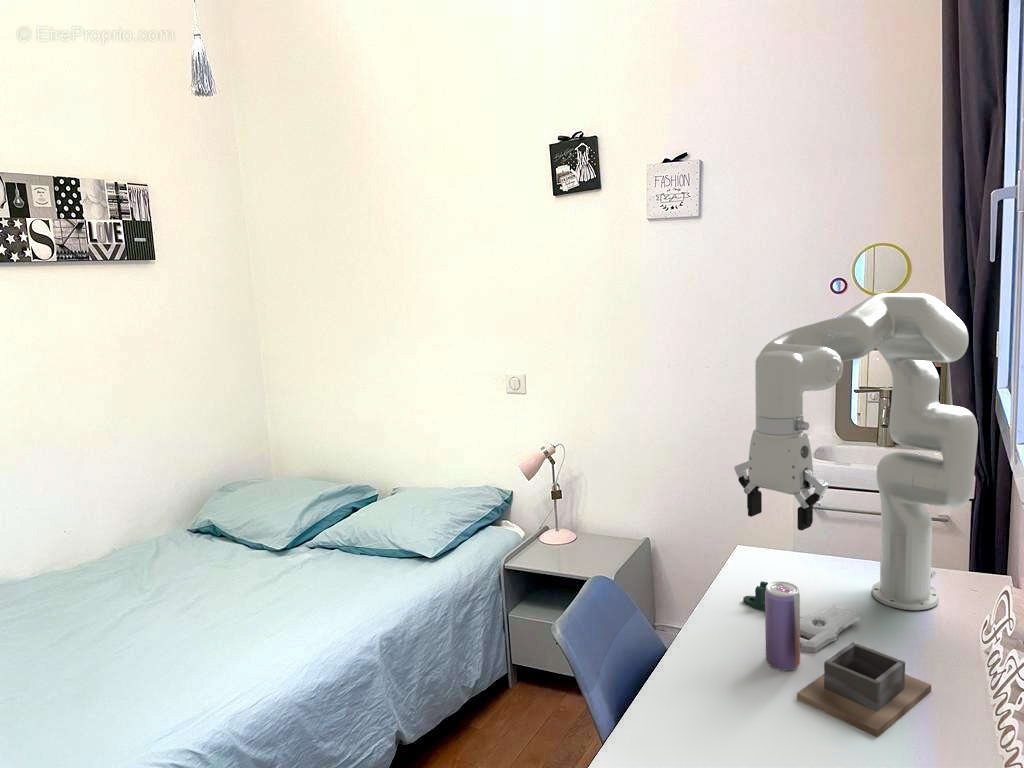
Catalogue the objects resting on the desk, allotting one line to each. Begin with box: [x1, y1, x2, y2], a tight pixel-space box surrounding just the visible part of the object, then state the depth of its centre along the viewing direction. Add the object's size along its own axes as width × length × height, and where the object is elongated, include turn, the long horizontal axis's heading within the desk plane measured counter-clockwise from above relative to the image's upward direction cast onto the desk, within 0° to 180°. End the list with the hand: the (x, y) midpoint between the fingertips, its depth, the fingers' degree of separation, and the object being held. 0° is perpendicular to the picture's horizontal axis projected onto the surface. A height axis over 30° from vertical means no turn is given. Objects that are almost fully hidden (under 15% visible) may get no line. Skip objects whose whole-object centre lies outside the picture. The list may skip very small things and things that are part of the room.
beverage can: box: [764, 581, 801, 672], centre depth 141 cm, size 6×6×15 cm
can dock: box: [796, 641, 932, 738], centre depth 131 cm, size 18×14×6 cm
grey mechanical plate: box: [800, 604, 861, 653], centre depth 152 cm, size 18×3×10 cm
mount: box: [742, 580, 769, 612], centre depth 163 cm, size 11×4×5 cm, turn 53°
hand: (778, 521), depth 133 cm, fingers open, 9 cm apart
